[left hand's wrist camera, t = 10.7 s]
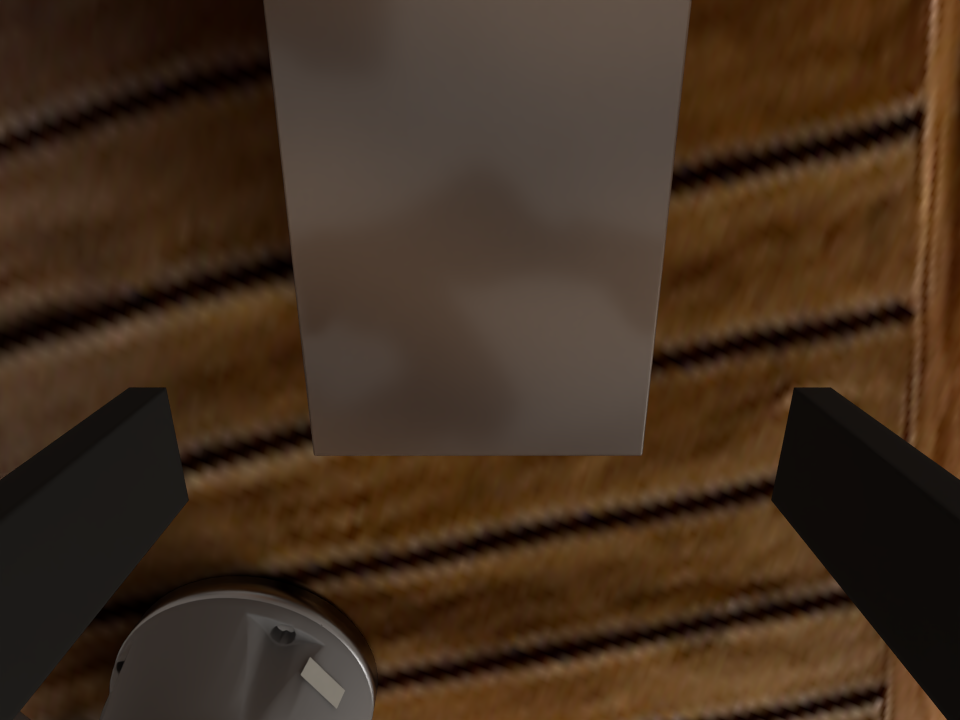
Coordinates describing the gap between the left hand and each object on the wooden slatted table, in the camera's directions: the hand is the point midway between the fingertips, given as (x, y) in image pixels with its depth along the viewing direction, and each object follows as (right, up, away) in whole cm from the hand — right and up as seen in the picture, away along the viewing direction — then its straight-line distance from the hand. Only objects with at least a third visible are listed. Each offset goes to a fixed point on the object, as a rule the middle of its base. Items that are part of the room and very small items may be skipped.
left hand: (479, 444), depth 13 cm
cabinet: (0, +12, +13) cm, 18 cm away
